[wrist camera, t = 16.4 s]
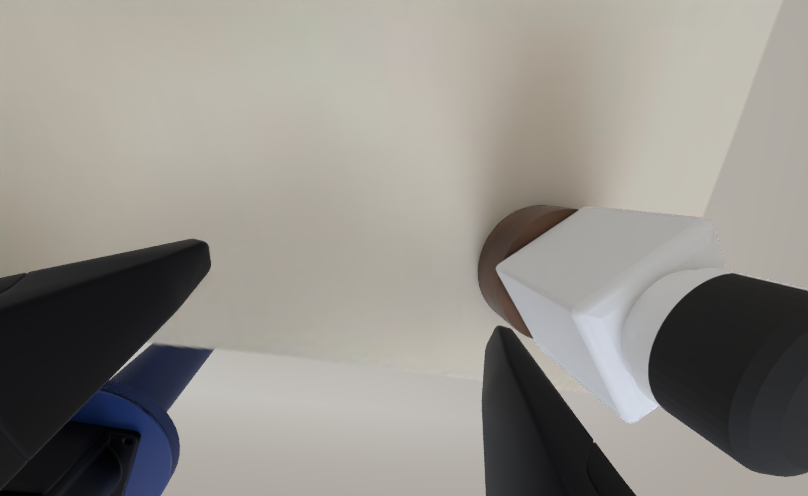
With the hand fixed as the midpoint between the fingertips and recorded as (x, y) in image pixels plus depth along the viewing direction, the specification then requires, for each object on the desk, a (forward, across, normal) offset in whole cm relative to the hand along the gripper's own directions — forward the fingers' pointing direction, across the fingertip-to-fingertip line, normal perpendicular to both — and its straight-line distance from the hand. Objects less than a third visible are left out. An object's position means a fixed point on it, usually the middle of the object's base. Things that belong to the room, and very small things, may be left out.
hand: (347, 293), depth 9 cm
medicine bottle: (+11, -11, +4) cm, 16 cm away
